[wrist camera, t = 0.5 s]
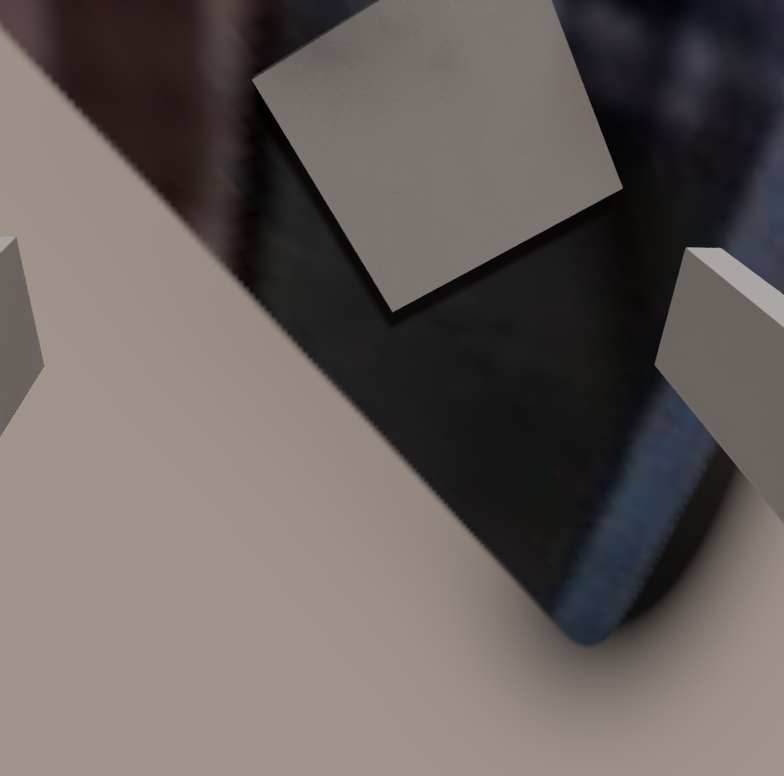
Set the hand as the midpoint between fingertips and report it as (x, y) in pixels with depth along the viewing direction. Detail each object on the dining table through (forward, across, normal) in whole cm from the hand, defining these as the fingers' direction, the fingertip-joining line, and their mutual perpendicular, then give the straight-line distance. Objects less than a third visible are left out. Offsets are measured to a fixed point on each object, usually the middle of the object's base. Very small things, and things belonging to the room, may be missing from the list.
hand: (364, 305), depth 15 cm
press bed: (+26, +6, -2) cm, 27 cm away
